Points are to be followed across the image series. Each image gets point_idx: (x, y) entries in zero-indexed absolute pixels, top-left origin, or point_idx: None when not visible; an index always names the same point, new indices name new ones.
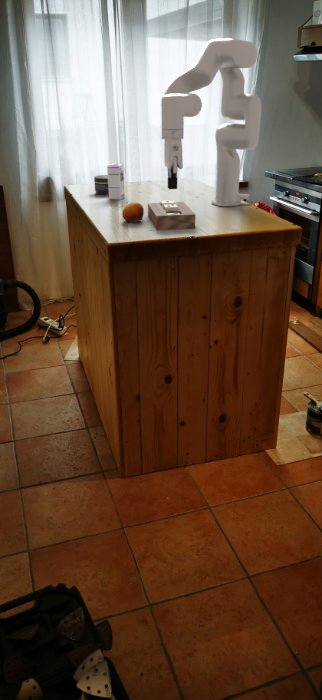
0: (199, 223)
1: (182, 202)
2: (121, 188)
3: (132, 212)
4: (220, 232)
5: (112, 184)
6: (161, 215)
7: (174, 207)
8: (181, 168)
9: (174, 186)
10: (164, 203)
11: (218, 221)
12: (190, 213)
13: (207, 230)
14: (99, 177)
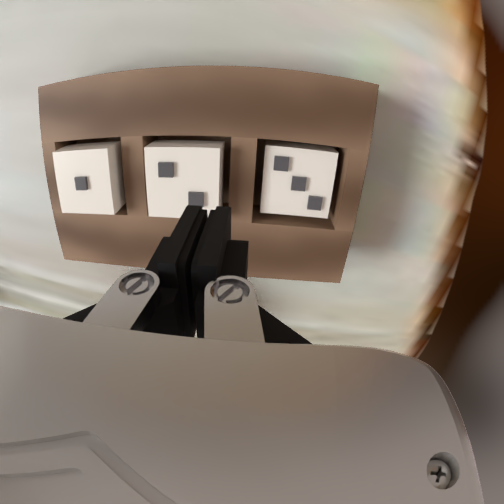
0: (262, 30)
1: (51, 92)
2: None
3: (195, 331)
4: (442, 20)
5: None
6: (341, 261)
7: (220, 167)
8: (421, 368)
9: (248, 247)
10: (113, 204)
11: None
12: (349, 102)
13: (402, 48)
14: None
